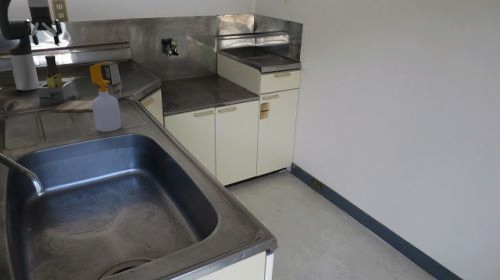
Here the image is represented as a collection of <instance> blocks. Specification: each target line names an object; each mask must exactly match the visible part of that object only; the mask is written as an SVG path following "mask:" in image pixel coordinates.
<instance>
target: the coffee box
mask: <svg viewBox="0 0 500 280" xmlns="http://www.w3.org/2000/svg"><path fill="white" fill-rule="evenodd" d="M104 62H106V64H103V65H101V66H100V69H101V75H102V79H103V80H108V81H110V83H106V85H105V88H107V89H108V92H109V95H110V96H113V97H114V98H116V99H117V100H119V99H122V98H124V97H125V96H124V91H123V90H124V88H123V87H124V86H123V81H122V75H121V74H122V73H121V67H120V62H114V61H104V60H103V61H101V62H97V63H95V64H94V65H96V64H100V63H104ZM97 85H98V84H97ZM99 89H101V88H100V86H99V85H98V90H99Z"/></svg>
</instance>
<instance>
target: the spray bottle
mask: <svg viewBox="0 0 500 280" xmlns="http://www.w3.org/2000/svg"><path fill="white" fill-rule="evenodd" d="M103 62H104V61H103ZM106 62H107V61H106ZM106 62H104V63H100V62H99V63H100V64H97V63H95V64H96V65H95V64H94V65H93V64H92V65H90V67H89V72H90V76H91V82H92V83H93V84H97V85H99V86H100V88H101V89H99V88H98V96H97V97H96V98H94V99H93V100H92V101H93V103H92V108H93V111H92V112H93V113H92V114H93V119H94V125H95V129H96V130H97V131H98V132H102V133H106V132H107V133H108V132H114V131H117V130H119V129H121V128H122V120H121V119H122V118H121V112H120V105H119V101H118V100H119V99H116V98H114V97H113V96H110V95H109V92H108V89H107V88H105V85H106V83H110V81H108V80H103V79H102V75H101V69H100V66H101V65H103V64H106ZM99 86H98V87H99Z"/></svg>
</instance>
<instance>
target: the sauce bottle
mask: <svg viewBox="0 0 500 280" xmlns="http://www.w3.org/2000/svg"><path fill="white" fill-rule="evenodd" d="M44 59H45V61H46V68H45V71H44V72H45V78H46V79H45V80H46V82H47V85H48V87H61V86H63V83H62V81H63V78H62V73H61V71H60V70H59V67H58V66H57V61H56V55H55V54H49V55H44Z"/></svg>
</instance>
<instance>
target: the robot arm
mask: <svg viewBox="0 0 500 280" xmlns="http://www.w3.org/2000/svg"><path fill="white" fill-rule="evenodd" d="M11 2H12V0H0V34H1V35H2V38H3V39H4V40H5V41H17V40H18V43H17V44H16V45H14V46H12V47H10V48H9V55H10V58H11V62H12V66H13V67H12V68H13V70H12V73H13V78H14V82H15V83H14V84H15V86H16V90H17V91H18V90H19V91H32V90H37V87H39V86H40V82H39V79H38V73H37V69H36V64H35V60H34V55H33V51H32V44H34V45H35V46H38V45H39V44H40V43H39V39H38V38H39V37H38V35H37V34H38V33H39V31H40V32H41V31H45V32H46V31H48V32H49V33H51V34H52V35H53V41H54V45H55V46H57V45H59V44H60V37H59V36H60V35H62V34H63V29H62V26H61V25H62V24H61V22H60V20H59V19H52V16H51V10H50V5H49V0H27V6H28V10H29V13H30V17H31V20H30V19H25V20H24V19H22V18H16V19H13V18H12V19H9V7H10V4H11ZM52 25H54V26H55V28H54V26H52ZM32 26H33V28H32ZM30 36H31V38H30ZM31 39H32V44H31Z"/></svg>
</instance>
